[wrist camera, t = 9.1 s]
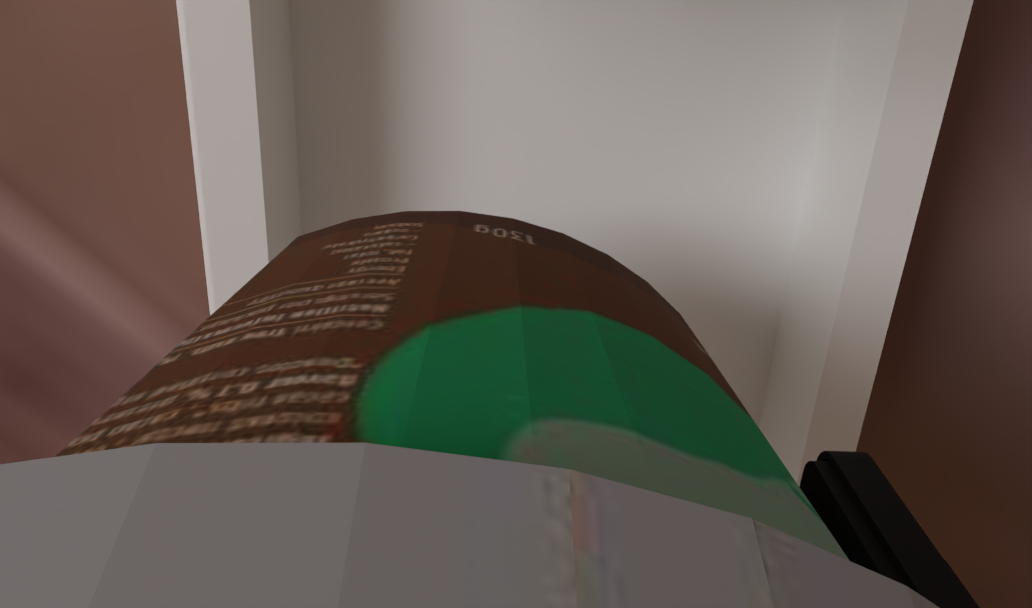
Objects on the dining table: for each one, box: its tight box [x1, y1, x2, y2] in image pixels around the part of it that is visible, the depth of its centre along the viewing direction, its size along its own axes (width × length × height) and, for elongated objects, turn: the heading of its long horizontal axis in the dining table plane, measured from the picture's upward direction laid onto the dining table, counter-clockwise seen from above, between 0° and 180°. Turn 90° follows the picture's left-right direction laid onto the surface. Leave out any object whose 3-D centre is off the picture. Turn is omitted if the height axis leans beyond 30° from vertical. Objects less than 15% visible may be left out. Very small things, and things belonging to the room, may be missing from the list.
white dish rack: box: [176, 0, 974, 487], centre depth 13 cm, size 14×24×12 cm, turn 177°
